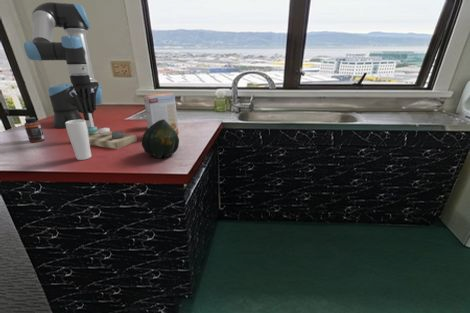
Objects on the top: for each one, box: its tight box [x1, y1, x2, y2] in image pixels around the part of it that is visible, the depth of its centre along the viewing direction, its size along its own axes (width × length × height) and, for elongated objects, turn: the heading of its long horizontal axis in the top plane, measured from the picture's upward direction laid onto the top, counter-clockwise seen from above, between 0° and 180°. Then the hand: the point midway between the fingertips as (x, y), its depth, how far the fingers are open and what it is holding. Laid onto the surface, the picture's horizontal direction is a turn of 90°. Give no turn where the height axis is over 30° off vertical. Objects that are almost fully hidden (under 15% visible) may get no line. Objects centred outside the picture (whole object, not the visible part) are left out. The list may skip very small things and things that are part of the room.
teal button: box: [87, 125, 99, 133], centre depth 119 cm, size 5×5×2 cm
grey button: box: [111, 130, 125, 138], centre depth 114 cm, size 5×5×2 cm
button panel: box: [88, 131, 138, 150], centre depth 118 cm, size 26×12×3 cm, turn 69°
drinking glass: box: [65, 118, 92, 161], centre depth 97 cm, size 7×7×15 cm
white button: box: [97, 127, 111, 135], centre depth 117 cm, size 5×5×2 cm
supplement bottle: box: [23, 116, 46, 143], centre depth 117 cm, size 6×6×11 cm
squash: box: [141, 119, 180, 159], centre depth 101 cm, size 14×15×15 cm
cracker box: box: [143, 92, 179, 135], centre depth 124 cm, size 14×6×21 cm, turn 134°
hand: (90, 126), depth 118 cm, fingers closed
